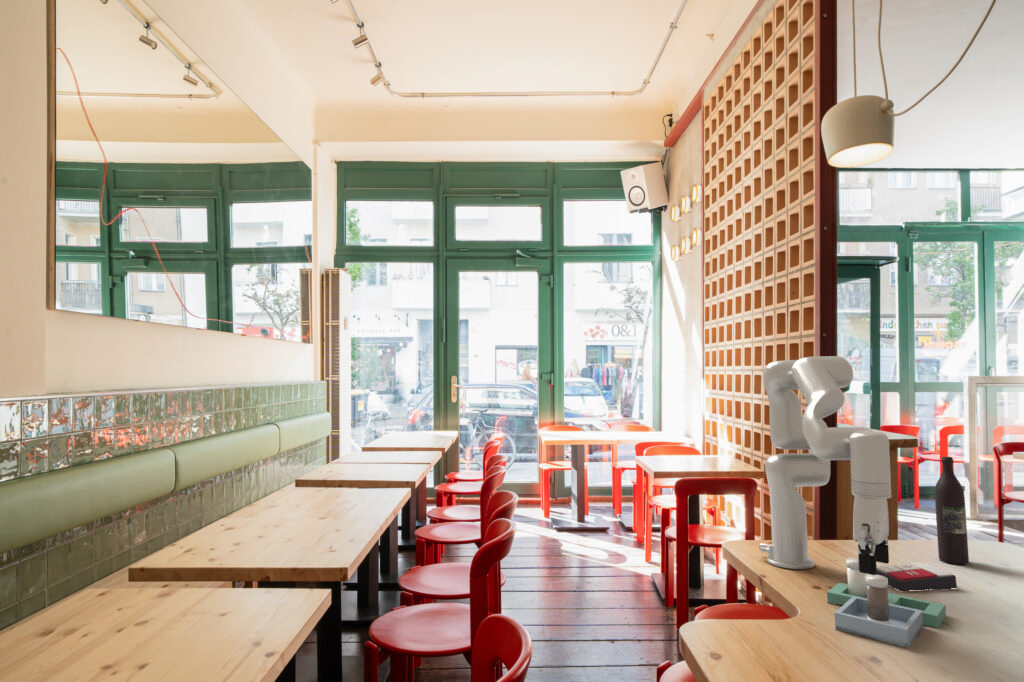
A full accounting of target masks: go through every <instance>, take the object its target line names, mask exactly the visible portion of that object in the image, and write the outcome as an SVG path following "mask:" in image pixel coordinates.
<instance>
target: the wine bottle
mask: <svg viewBox="0 0 1024 682" xmlns="http://www.w3.org/2000/svg"><path fill="white" fill-rule="evenodd" d="M940 462H941V464H942V465H941V466H942V471H941V474H940V476H939V478H938V480H937V482H936V484H935V486H934V503H935V506H934V507H935V516H936V517H935V518H936V533H937V534H936V535H937V536H936V537H937V550H938V551H937V552H938V559H939V560H940V561H941V562H944V563H945V562H946V564H949V563H951V564H950V565H956V564H958V565H959V566H960V565H961V566H962V565H964V564H965V565H967V564H969V563H970V558H969V544H968V543H969V542H968V530H967V529H968V527H967V514H966V497H965V491H964V488H963V485H962V484H961V482H960V481H959V479H958V478H957V476H956V475H955V473H954V467H953V466H954V458H953V457H952V456H941V458H940ZM958 565H957V566H958Z"/></svg>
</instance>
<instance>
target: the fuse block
mask: <svg viewBox="0 0 1024 682" xmlns="http://www.w3.org/2000/svg"><path fill="white" fill-rule="evenodd" d="M826 593H827V595H826V597H827V603H828V602H829V604H832V603H835V604H834V605H836V604H839V605H838V606H840V605H844V604H845V603H846V602H847V601H848V600H850V599H851V598H852V597H853V596H854V595H849V592H848V583H845V582H838V583H836V584H835V585H834V586H833V587H831V589H829V590H828V591H827V592H826ZM856 597H858V596H856ZM860 598H863V597H860ZM865 599H867V598H865ZM888 602H889V604H893V605H897V606H902V607H906V608H911V609H916V610H920V611H922V616H923V626H928V627H931V628H937V629H938V628H939V626H940V625H941V624H942V622H943V621H944V619H945V618H944V617H945V616H947V613H946V612H947V611H946V610H947V609H946V604H945V603H940V602H934V601H931V600H927V599H926V600H925V599H921V598H916V597H911V596H906V595H901V594H898V593H897V594H896V593H892V592H888Z"/></svg>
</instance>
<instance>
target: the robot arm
mask: <svg viewBox="0 0 1024 682" xmlns="http://www.w3.org/2000/svg"><path fill="white" fill-rule="evenodd" d="M853 377H854V370H853V367H852V365H851V364H850V362H849V361H848V360H847V359H846V358H845V357H843V356H838V355H836V356H835V355H832V356H831V355H829V356H828V355H826V356H825V355H824V356H822V355H821V356H819V355H818V356H806V357H802V358H798V359H784V360H776V361H772V362H769V363H768V364H766V365H765V367H764V369H763V375H762V380H763V381H762V382H763V385H764V389H765V392H766V396H767V399H768V403H769V404H768V405H769V407H768V408H769V411H768V412H769V436H770V437H769V438H770V442H771V444H772V446H773V447H775V448H776V449H778V450H779V449H780V450H793V451H794V450H808V453H796V452H795V453H777V454H773V455H770V456H768V458H767V459H766V460H765V465H764V469H765V471H764V472H765V475H766V479H767V484H768V491H769V503H770V525H771V543H770V544H766V543H763V542H761V543H759V545H758V548H759V551H760V552H763V553H767V554H768V555H767V556H766V557H767V563H769V564H770V565H773V566H775V567H779V568H783V569H790V570H806V569H808V570H809V569H812V568H814V567H815V565H816V563H815V560H814V559H813V558H812V557H809V545H808V544H809V543H808V540H809V539H808V526H807V523H808V522H807V505H806V501H805V499H804V498H803V496H802V495H801V493H799V492H798V490H797V488H800V487H822V486H826V485H827V484H828V483H829V481H830V477H831V461H850V463H849V464H850V484H851V485H850V487H851V490H850V491H851V495H853V496H854V498H853V508H852V509H853V510H852V511H853V512H852V539H853V541H854V542H856V543H858V545H857V547H858V550H857V551H858V552H857V553H858V554H857V555H858V558H859V571H860V572H861V573H866V575H868V574H871V575H876V574H877V568H876V566H877V563H881V564H885V565H888V564H889V563H890V555H889V551H890V550H889V545H888V544H889V539H888V537H889V534H890V531H889V530H890V518H889V506H888V505H889V504H888V499H891V498H892V482H891V476H892V475H891V458H890V457H891V456H890V455H891V453H890V452H891V451H890V439H889V436H888V435H886V434H885V433H884V432H879V431H874V430H872V429H871V428H868V427H862V426H859V427H856V426H855V427H854V426H853V427H849V426H844V427H843V426H837V427H836V426H834V427H831V426H830V427H828V425H827V423H826V422H825V421H824V418H827V417H829V416H831V415H833V414H835V413H837V412H838V411H839V410H840V409H841V408H842V407H843V406H844V403H845V401H846V400H845V399H846V398H845V395H844V392H843V391H842V390H841V389H844V388H848V387H849V386H850V385H851V383H852V381H853ZM797 390H799V391H800V393H801V395H802V397H803V398H804V400H805V402H806V403H807V406H806V407H805V409H804V412H803V414H802V406H801V405H802V403H801V400H800V398H799V396H798V395H797V394H796V392H795V391H797Z"/></svg>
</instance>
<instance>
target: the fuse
mask: <svg viewBox="0 0 1024 682" xmlns="http://www.w3.org/2000/svg"><path fill="white" fill-rule="evenodd" d="M845 567H846V576H847V577H846V578H847V584H848V592H849V595H854V596H858V597H863V598H867V592H866V583H865V575H867V574H866V573H861V572H860V571H859V557H858V558H857V557H856V558H855V557H848V558H845Z"/></svg>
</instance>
